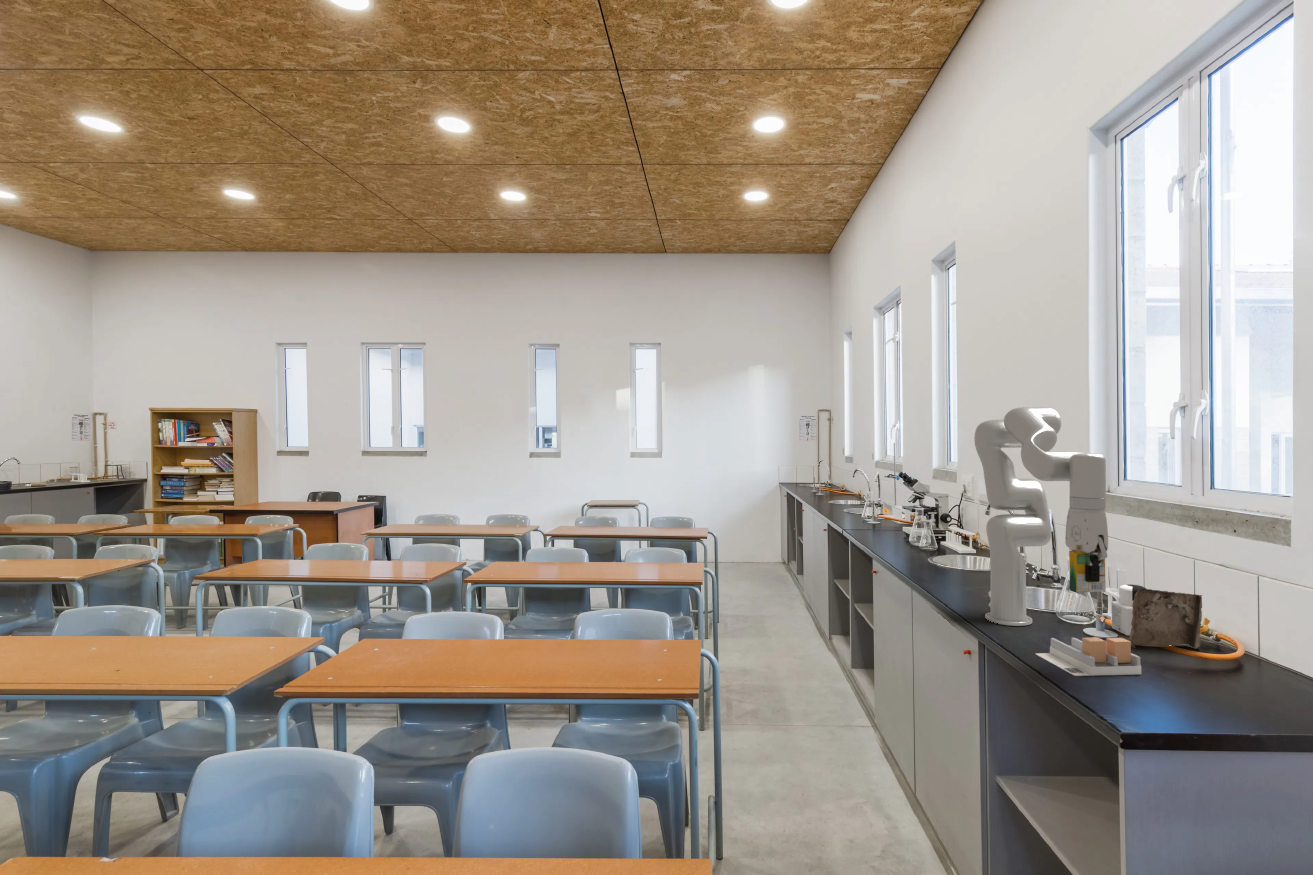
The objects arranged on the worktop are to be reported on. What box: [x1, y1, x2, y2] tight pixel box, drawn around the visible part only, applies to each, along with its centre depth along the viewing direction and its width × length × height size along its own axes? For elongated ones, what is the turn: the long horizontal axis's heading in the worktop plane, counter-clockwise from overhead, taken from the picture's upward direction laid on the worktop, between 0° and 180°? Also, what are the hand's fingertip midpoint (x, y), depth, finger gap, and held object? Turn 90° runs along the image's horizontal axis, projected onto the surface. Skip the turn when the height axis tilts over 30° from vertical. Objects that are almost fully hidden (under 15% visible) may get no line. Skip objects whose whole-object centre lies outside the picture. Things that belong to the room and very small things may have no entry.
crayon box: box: [1068, 545, 1107, 594], centre depth 172 cm, size 7×3×12 cm, turn 91°
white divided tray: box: [1035, 637, 1142, 677], centre depth 172 cm, size 16×16×4 cm
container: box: [1111, 583, 1147, 637], centre depth 198 cm, size 8×8×13 cm
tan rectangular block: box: [1081, 636, 1106, 662], centre depth 168 cm, size 3×4×5 cm
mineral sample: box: [1127, 588, 1203, 649], centre depth 184 cm, size 17×4×15 cm, turn 81°
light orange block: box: [1105, 637, 1132, 663], centre depth 167 cm, size 3×4×5 cm
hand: (1087, 579), depth 172 cm, fingers closed on crayon box, 3 cm apart
